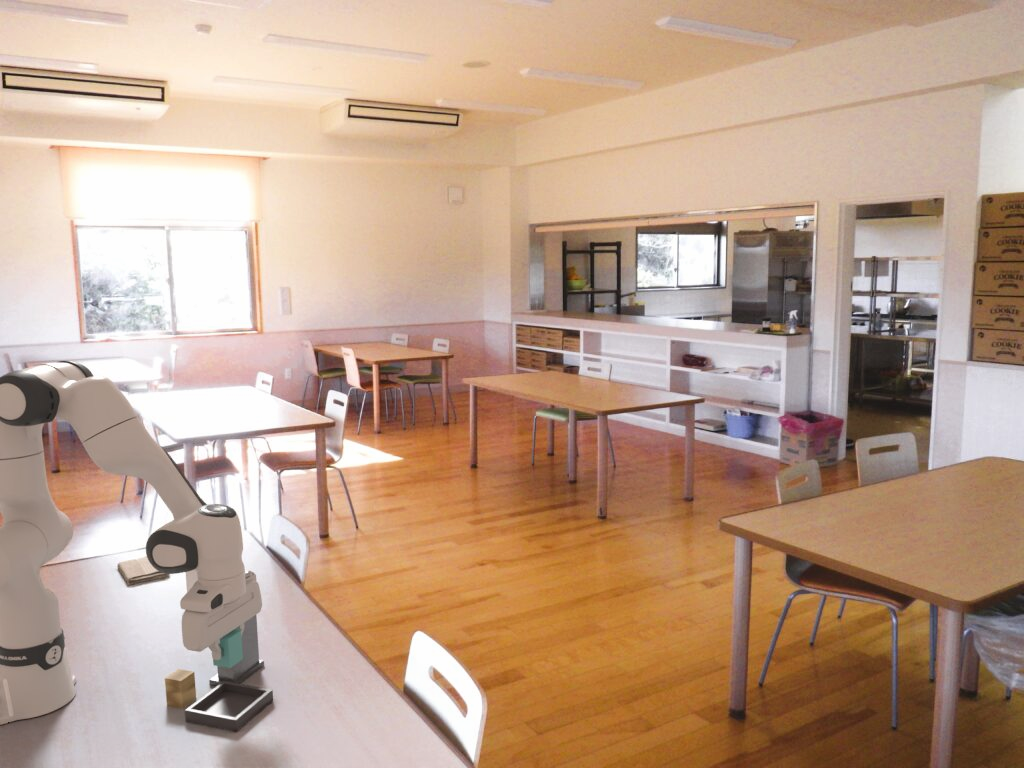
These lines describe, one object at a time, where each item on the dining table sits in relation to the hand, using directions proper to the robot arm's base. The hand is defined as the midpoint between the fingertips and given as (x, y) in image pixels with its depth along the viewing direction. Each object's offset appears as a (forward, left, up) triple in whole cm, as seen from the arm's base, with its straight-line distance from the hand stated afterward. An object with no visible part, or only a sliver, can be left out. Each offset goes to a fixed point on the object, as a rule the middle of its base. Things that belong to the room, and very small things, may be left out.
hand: (227, 652), depth 165 cm
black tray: (0, 0, -13) cm, 13 cm away
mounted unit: (-8, +13, -13) cm, 20 cm away
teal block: (0, 0, -2) cm, 2 cm away
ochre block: (-12, 0, -13) cm, 18 cm away
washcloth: (-73, +56, -14) cm, 93 cm away
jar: (-46, +49, -13) cm, 69 cm away
